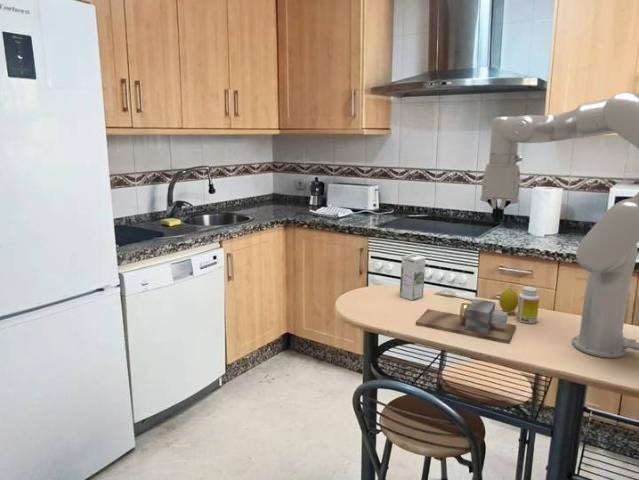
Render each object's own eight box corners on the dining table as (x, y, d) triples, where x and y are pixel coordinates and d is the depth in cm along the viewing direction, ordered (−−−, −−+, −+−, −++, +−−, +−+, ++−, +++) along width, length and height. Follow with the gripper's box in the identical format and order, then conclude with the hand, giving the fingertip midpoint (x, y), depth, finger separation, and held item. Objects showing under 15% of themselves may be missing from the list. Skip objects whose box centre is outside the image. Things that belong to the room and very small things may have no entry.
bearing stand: (515, 328, 143) (518, 304, 141) (509, 343, 133) (511, 318, 131) (427, 312, 155) (428, 290, 153) (415, 324, 145) (416, 301, 143)
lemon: (519, 312, 155) (522, 288, 153) (513, 317, 151) (515, 292, 149) (502, 308, 159) (504, 284, 157) (495, 313, 155) (497, 288, 153)
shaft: (507, 324, 140) (508, 308, 139) (504, 330, 136) (505, 313, 135) (463, 316, 146) (464, 300, 145) (459, 322, 142) (460, 305, 141)
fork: (491, 313, 162) (493, 305, 161) (431, 295, 172) (432, 287, 171) (493, 310, 165) (495, 302, 164) (433, 293, 174) (435, 285, 174)
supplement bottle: (540, 322, 147) (544, 290, 145) (525, 325, 145) (529, 292, 143) (527, 316, 152) (530, 284, 150) (512, 318, 150) (515, 286, 148)
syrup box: (410, 293, 173) (412, 253, 170) (423, 297, 168) (426, 256, 165) (399, 296, 169) (401, 255, 166) (412, 301, 165) (415, 259, 162)
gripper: (531, 160, 144) (525, 222, 148) (479, 158, 151) (474, 217, 155) (528, 161, 138) (522, 226, 142) (473, 159, 145) (469, 221, 149)
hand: (497, 221), depth 148 cm, fingers closed
